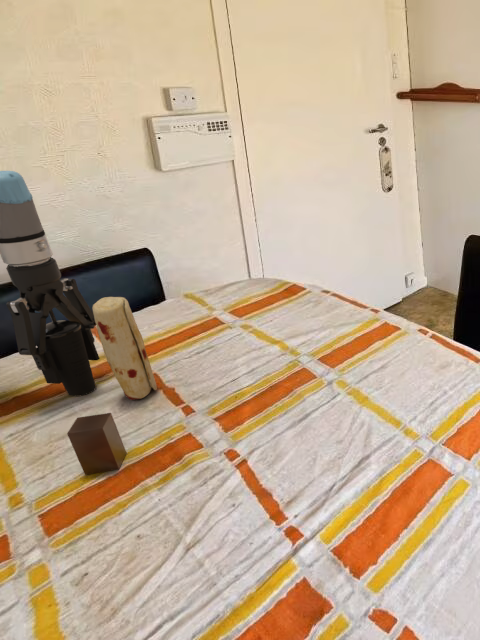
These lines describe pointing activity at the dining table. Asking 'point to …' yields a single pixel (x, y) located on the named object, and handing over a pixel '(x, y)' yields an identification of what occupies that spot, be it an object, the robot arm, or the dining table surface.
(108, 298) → the food model
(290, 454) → the dining table surface
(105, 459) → the block
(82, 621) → the dining table surface
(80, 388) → the drinking cup
